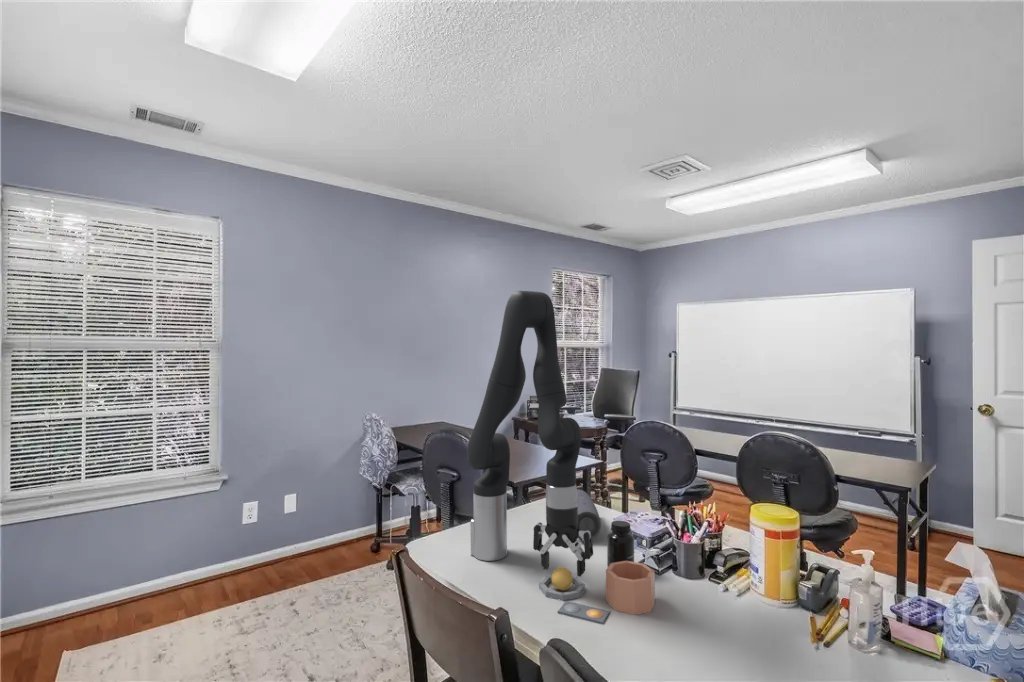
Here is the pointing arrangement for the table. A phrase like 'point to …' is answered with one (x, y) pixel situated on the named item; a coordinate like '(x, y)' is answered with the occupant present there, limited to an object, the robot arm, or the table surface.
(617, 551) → the supplement bottle
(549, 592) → the gray octagonal ring
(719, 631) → the table surface
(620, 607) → the octagonal planter pot
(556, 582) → the ball
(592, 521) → the bluetooth speaker
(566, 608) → the card
